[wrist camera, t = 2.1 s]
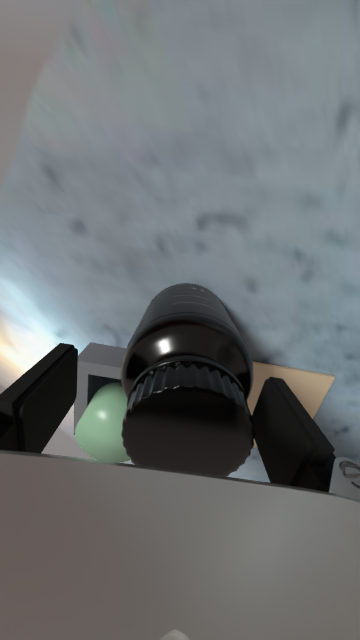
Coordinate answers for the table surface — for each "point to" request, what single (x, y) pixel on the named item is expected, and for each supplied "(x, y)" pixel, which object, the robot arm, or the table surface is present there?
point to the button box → (95, 373)
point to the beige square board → (292, 385)
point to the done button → (104, 425)
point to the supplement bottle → (187, 386)
